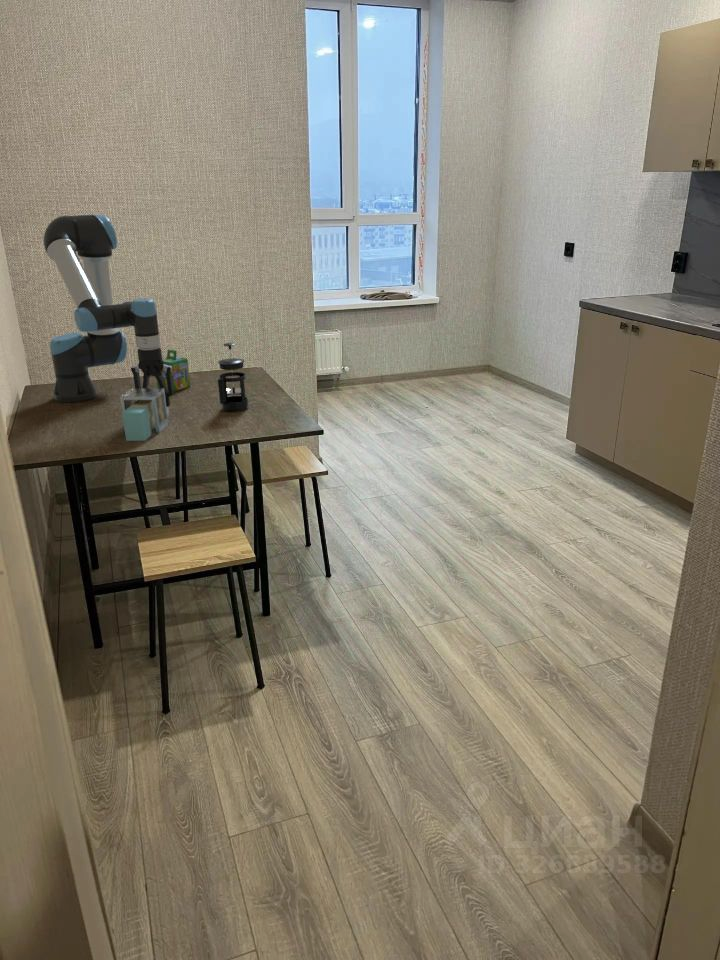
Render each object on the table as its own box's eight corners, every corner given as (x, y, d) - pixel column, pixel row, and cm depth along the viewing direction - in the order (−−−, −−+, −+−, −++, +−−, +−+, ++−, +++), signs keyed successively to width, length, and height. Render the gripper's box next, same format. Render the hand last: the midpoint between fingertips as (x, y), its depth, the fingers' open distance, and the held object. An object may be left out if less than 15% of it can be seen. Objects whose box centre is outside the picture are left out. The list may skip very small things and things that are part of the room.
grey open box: (159, 433, 224) (154, 396, 219) (125, 433, 224) (119, 396, 220) (168, 423, 233) (164, 388, 228) (136, 423, 233) (130, 388, 229)
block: (126, 440, 217) (122, 412, 214) (132, 434, 223) (128, 407, 219) (145, 440, 217) (141, 412, 214) (151, 434, 222) (147, 407, 219)
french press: (236, 402, 255) (230, 339, 246) (255, 406, 250) (250, 342, 241) (212, 410, 246) (206, 345, 237) (232, 414, 241) (226, 348, 232)
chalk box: (157, 389, 275) (152, 351, 269) (174, 384, 282) (170, 347, 276) (174, 392, 270) (169, 354, 264) (191, 386, 277) (187, 349, 272)
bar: (148, 433, 222) (145, 406, 219) (133, 434, 223) (129, 406, 219) (169, 414, 243) (166, 388, 239) (155, 414, 243) (151, 388, 240)
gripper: (117, 350, 227) (128, 419, 236) (172, 349, 226) (181, 419, 235) (125, 345, 234) (135, 412, 243) (179, 345, 233) (187, 412, 242)
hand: (158, 415), depth 239 cm, fingers closed on bar, 5 cm apart
